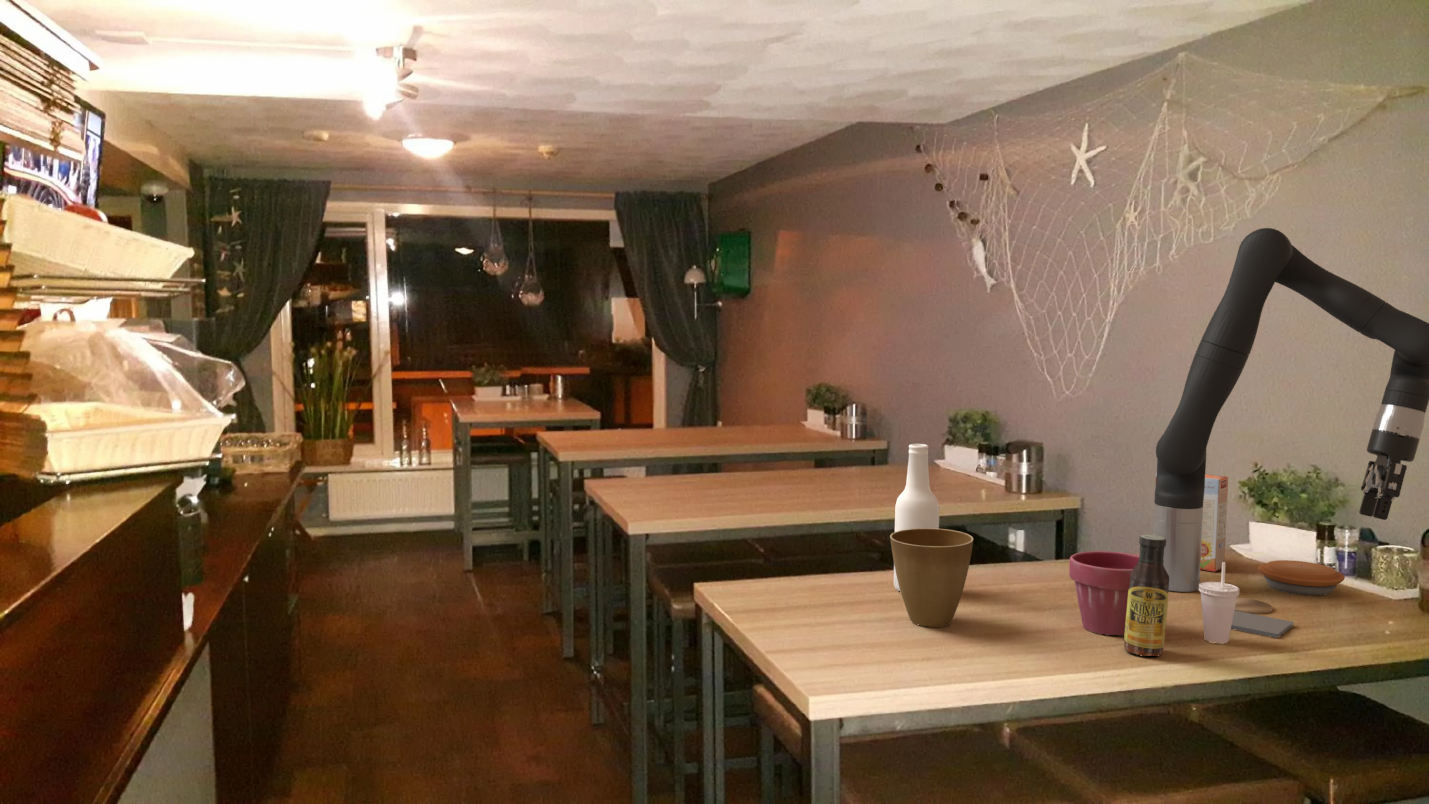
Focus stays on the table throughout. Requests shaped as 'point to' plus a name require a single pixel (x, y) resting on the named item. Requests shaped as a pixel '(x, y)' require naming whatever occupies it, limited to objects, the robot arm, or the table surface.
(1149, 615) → the sauce bottle
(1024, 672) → the table surface
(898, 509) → the alcohol
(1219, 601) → the smoothie
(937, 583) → the plant pot
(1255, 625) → the slate coaster
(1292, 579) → the pie
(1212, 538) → the cracker box
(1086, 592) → the plant pot
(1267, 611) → the cork trivet
